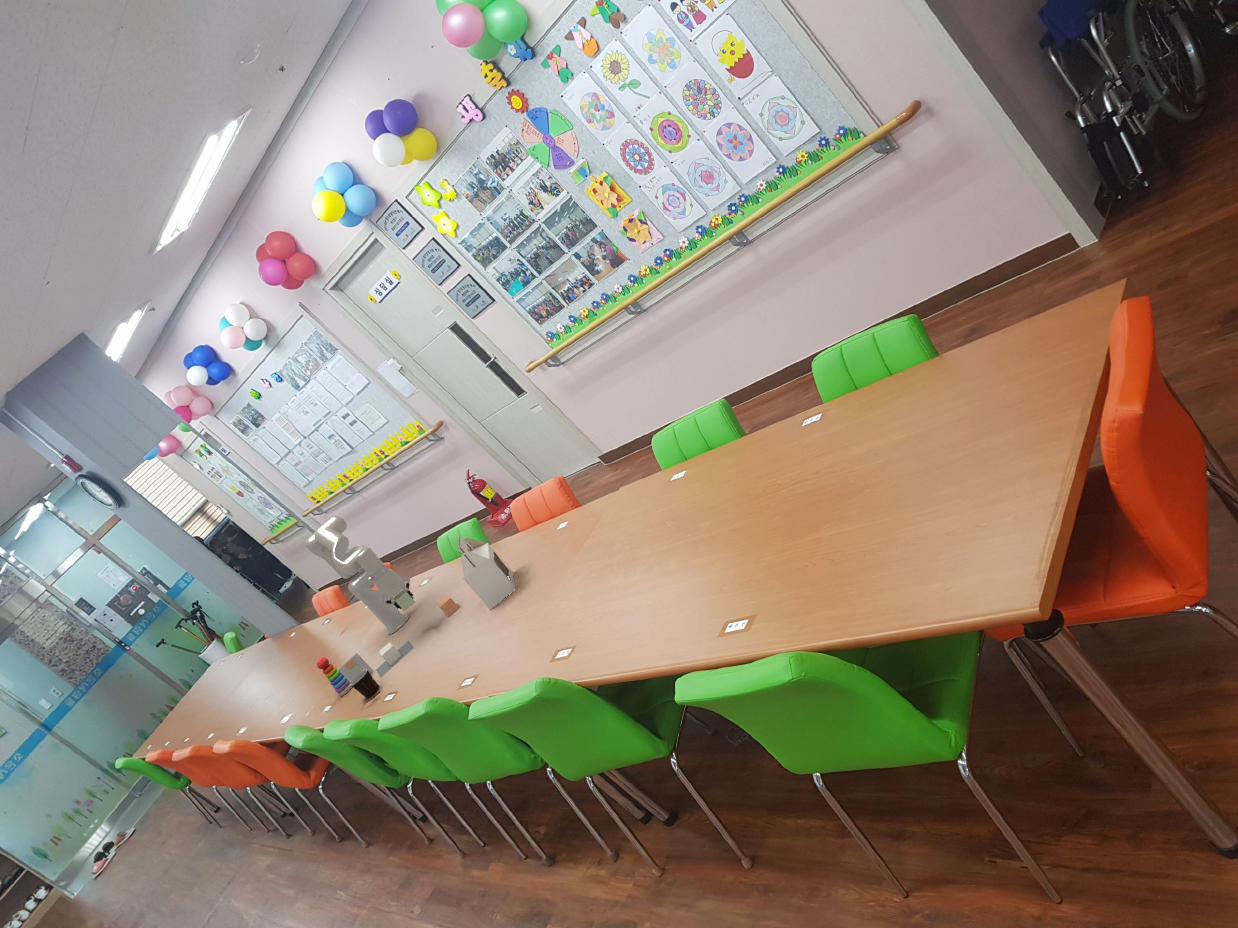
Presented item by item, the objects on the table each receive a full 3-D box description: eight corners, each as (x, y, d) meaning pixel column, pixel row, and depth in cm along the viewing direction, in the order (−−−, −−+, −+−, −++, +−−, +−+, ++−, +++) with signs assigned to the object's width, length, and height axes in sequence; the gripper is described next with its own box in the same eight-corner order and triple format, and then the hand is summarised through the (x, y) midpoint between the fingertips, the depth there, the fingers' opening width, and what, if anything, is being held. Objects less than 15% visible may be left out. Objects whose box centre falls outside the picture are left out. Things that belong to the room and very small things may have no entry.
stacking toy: (349, 692, 356) (319, 662, 351) (336, 699, 359) (307, 669, 354) (357, 680, 363) (328, 650, 358) (345, 687, 366) (316, 657, 361)
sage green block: (401, 608, 357) (392, 598, 355) (412, 598, 359) (403, 588, 357) (404, 611, 350) (395, 601, 348) (415, 601, 352) (406, 591, 350)
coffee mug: (368, 693, 339) (352, 677, 336) (385, 682, 338) (369, 665, 335) (362, 710, 328) (345, 692, 325) (379, 698, 327) (362, 680, 324)
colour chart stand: (356, 688, 355) (337, 668, 352) (374, 671, 358) (355, 651, 355) (357, 690, 351) (338, 670, 348) (376, 673, 355) (357, 653, 351)
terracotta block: (445, 613, 365) (436, 603, 363) (455, 604, 366) (446, 594, 365) (448, 617, 357) (440, 607, 356) (459, 607, 359) (450, 597, 357)
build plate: (377, 671, 356) (375, 669, 355) (410, 642, 361) (408, 640, 361) (382, 679, 343) (380, 677, 343) (416, 649, 349) (414, 647, 348)
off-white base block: (387, 661, 355) (378, 651, 353) (398, 651, 356) (389, 641, 355) (390, 665, 347) (381, 655, 346) (401, 655, 349) (392, 645, 347)
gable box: (488, 591, 353) (447, 542, 345) (513, 572, 353) (472, 523, 345) (490, 610, 331) (446, 559, 324) (516, 590, 332) (472, 539, 324)
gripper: (364, 588, 343) (392, 618, 348) (397, 560, 348) (424, 591, 353) (362, 585, 349) (389, 615, 355) (394, 557, 355) (420, 588, 360)
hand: (406, 602), depth 354 cm, fingers closed on sage green block, 5 cm apart
